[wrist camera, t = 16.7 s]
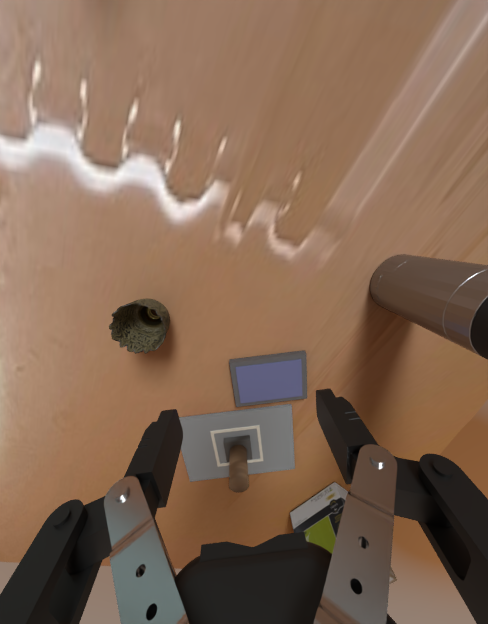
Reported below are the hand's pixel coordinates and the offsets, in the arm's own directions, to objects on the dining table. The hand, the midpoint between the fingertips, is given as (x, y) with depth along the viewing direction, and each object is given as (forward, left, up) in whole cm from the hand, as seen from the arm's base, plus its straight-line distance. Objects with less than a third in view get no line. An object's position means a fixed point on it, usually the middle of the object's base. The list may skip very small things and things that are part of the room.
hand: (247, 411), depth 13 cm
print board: (+4, +33, -26) cm, 43 cm away
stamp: (+4, +33, -26) cm, 42 cm away
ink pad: (-4, +17, -26) cm, 32 cm away
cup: (+14, +1, -27) cm, 30 cm away
